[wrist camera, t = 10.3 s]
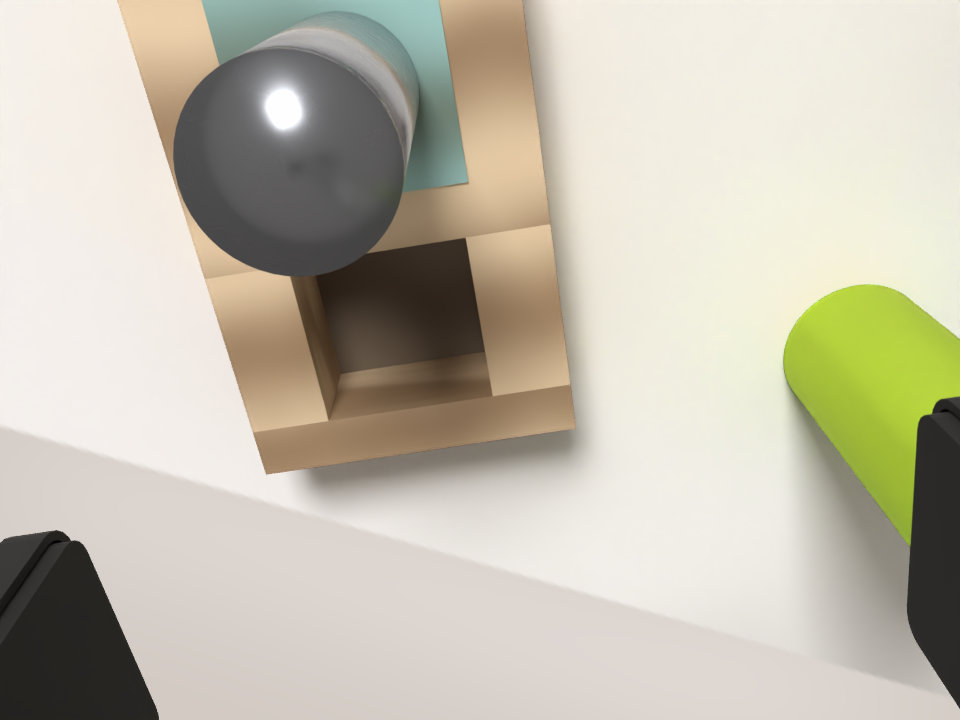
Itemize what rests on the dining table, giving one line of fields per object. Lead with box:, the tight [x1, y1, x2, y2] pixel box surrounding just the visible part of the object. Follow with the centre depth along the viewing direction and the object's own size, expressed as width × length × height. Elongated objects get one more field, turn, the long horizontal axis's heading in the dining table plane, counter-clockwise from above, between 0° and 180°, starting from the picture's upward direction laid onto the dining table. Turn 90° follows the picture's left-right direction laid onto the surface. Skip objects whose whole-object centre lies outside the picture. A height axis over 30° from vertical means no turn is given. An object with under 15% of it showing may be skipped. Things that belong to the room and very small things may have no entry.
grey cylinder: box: [173, 11, 420, 277], centre depth 23 cm, size 5×5×10 cm
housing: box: [117, 0, 576, 474], centre depth 31 cm, size 18×12×4 cm, turn 9°
